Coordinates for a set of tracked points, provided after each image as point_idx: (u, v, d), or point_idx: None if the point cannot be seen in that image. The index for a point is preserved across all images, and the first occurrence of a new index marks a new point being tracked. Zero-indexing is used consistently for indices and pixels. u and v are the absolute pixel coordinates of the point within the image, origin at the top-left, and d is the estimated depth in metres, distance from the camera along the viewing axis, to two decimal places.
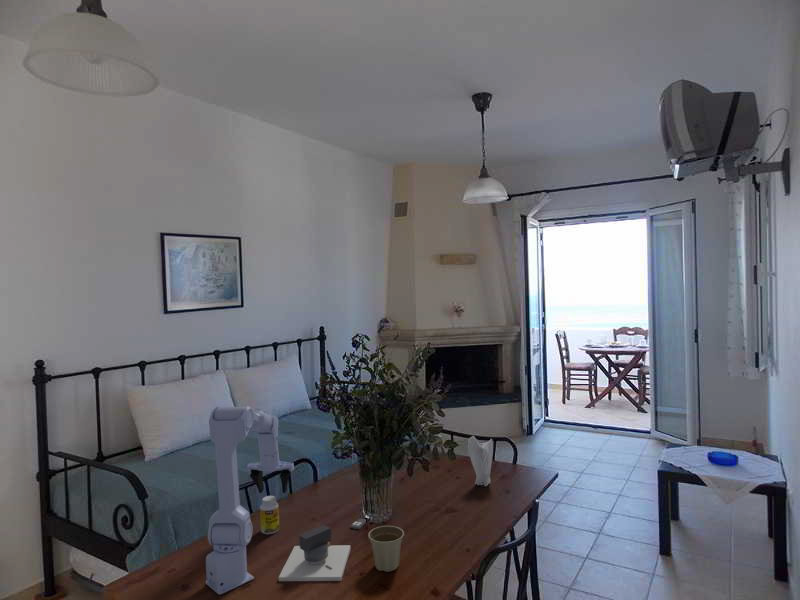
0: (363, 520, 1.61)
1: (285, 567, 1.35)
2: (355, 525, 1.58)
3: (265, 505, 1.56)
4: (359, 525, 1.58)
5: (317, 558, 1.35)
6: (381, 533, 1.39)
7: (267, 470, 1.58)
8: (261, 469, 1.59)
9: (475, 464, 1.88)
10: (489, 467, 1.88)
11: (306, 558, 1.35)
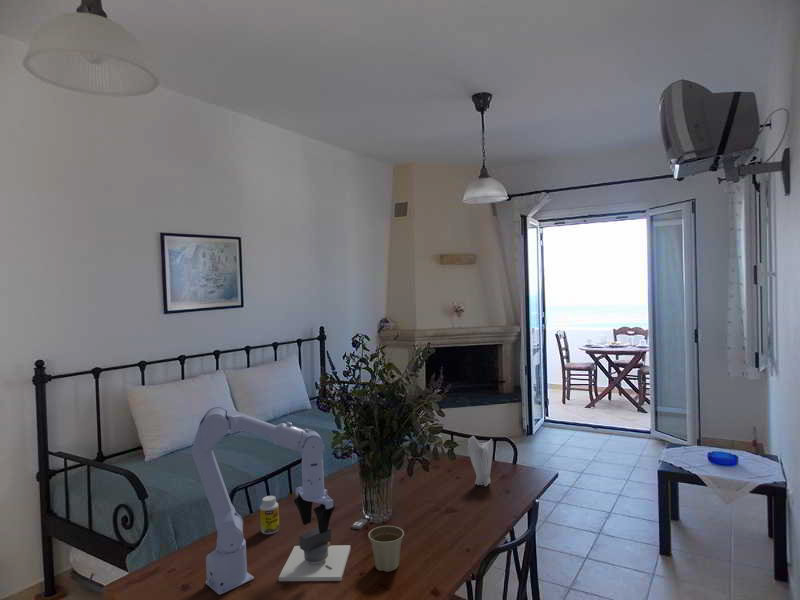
0: (364, 520, 1.61)
1: (285, 567, 1.35)
2: (356, 525, 1.58)
3: (265, 505, 1.56)
4: (360, 525, 1.58)
5: (317, 558, 1.35)
6: (381, 533, 1.39)
7: (304, 498, 1.35)
8: (301, 495, 1.37)
9: (475, 464, 1.88)
10: (489, 467, 1.88)
11: (306, 558, 1.35)
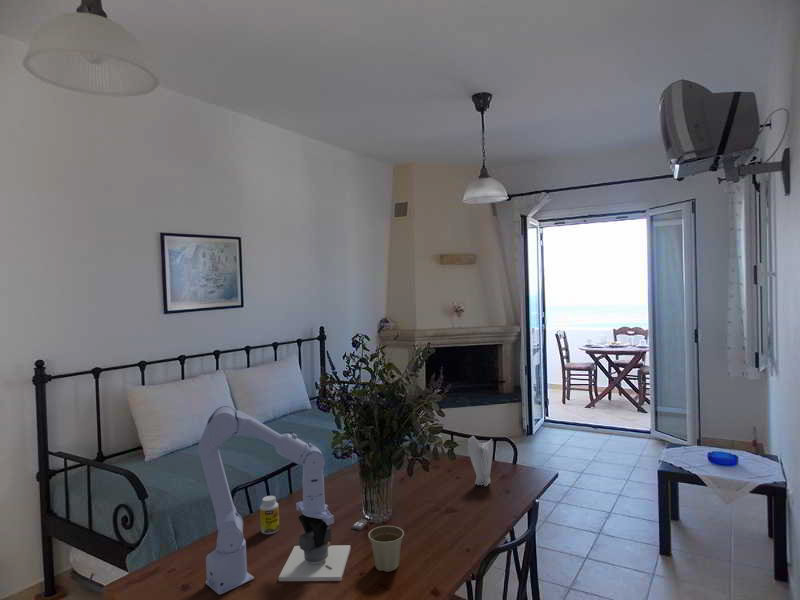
0: (364, 521, 1.61)
1: (285, 567, 1.35)
2: (357, 526, 1.57)
3: (265, 505, 1.56)
4: (361, 526, 1.57)
5: (317, 558, 1.35)
6: (381, 533, 1.39)
7: (305, 514, 1.35)
8: (302, 511, 1.37)
9: (475, 464, 1.88)
10: (489, 467, 1.88)
11: (306, 558, 1.35)
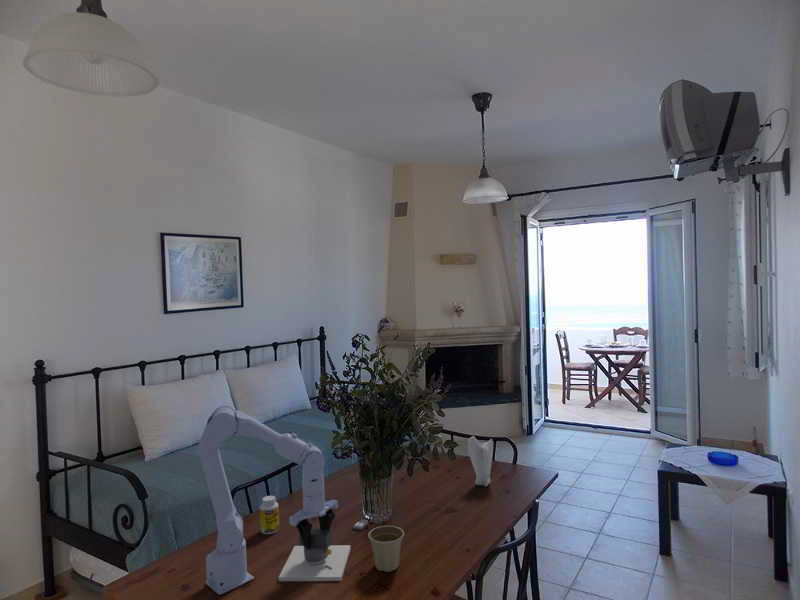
0: (365, 521, 1.61)
1: (285, 567, 1.35)
2: (357, 526, 1.57)
3: (265, 505, 1.56)
4: (361, 526, 1.57)
5: (306, 557, 1.35)
6: (381, 533, 1.39)
7: None
8: None
9: (475, 464, 1.88)
10: (489, 467, 1.88)
11: None
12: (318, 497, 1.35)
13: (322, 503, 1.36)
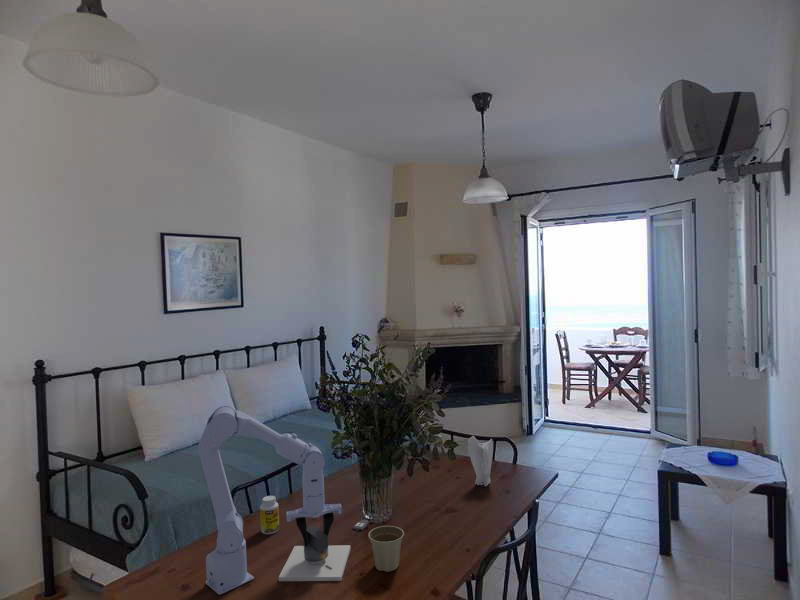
0: (365, 521, 1.61)
1: (285, 567, 1.35)
2: (358, 526, 1.57)
3: (265, 505, 1.56)
4: (362, 526, 1.57)
5: (304, 554, 1.37)
6: (381, 533, 1.39)
7: None
8: None
9: (475, 464, 1.88)
10: (489, 467, 1.88)
11: None
12: (312, 498, 1.34)
13: (318, 505, 1.35)
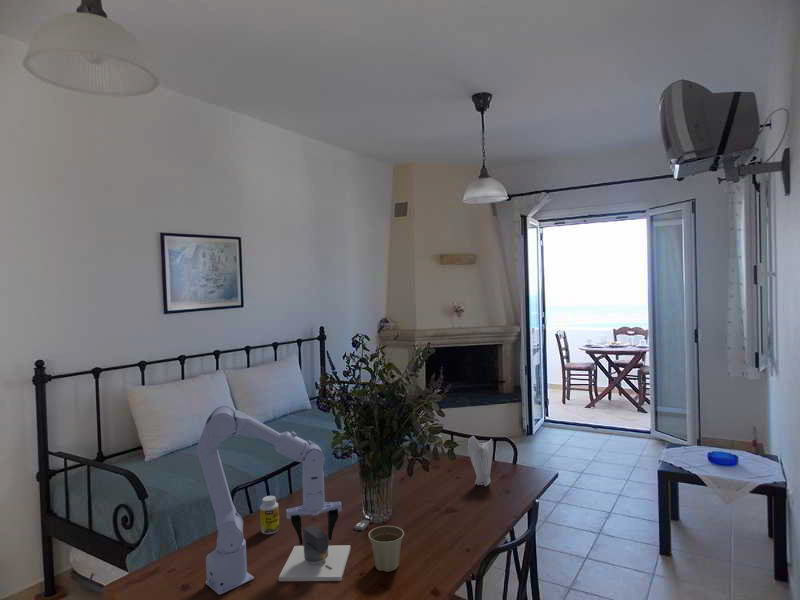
0: (366, 521, 1.60)
1: (285, 567, 1.35)
2: (359, 526, 1.57)
3: (265, 505, 1.56)
4: (363, 526, 1.57)
5: (304, 554, 1.37)
6: (381, 533, 1.39)
7: None
8: None
9: (475, 464, 1.88)
10: (489, 467, 1.88)
11: None
12: (312, 496, 1.34)
13: (317, 503, 1.35)
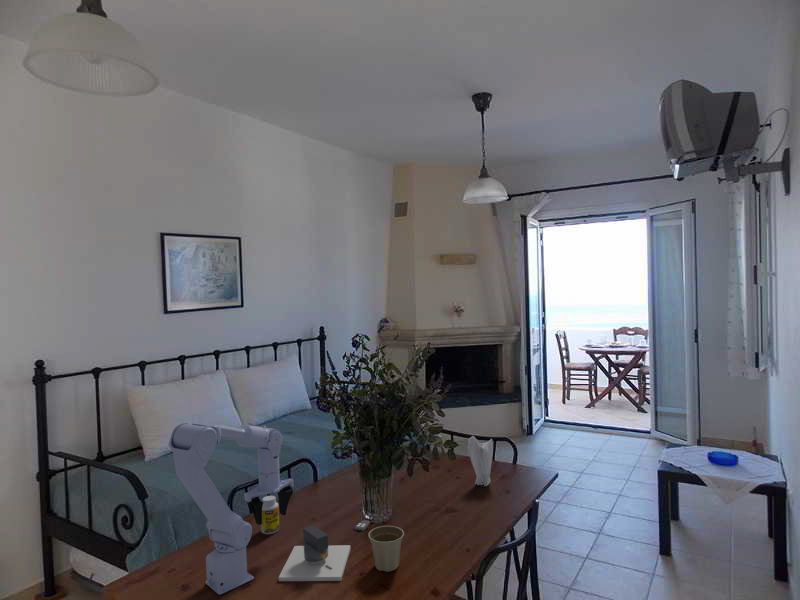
0: (366, 521, 1.60)
1: (285, 567, 1.35)
2: (359, 527, 1.57)
3: (265, 505, 1.56)
4: (364, 527, 1.57)
5: (304, 554, 1.37)
6: (381, 533, 1.39)
7: None
8: None
9: (475, 464, 1.88)
10: (489, 467, 1.88)
11: None
12: (272, 475, 1.41)
13: (277, 481, 1.42)
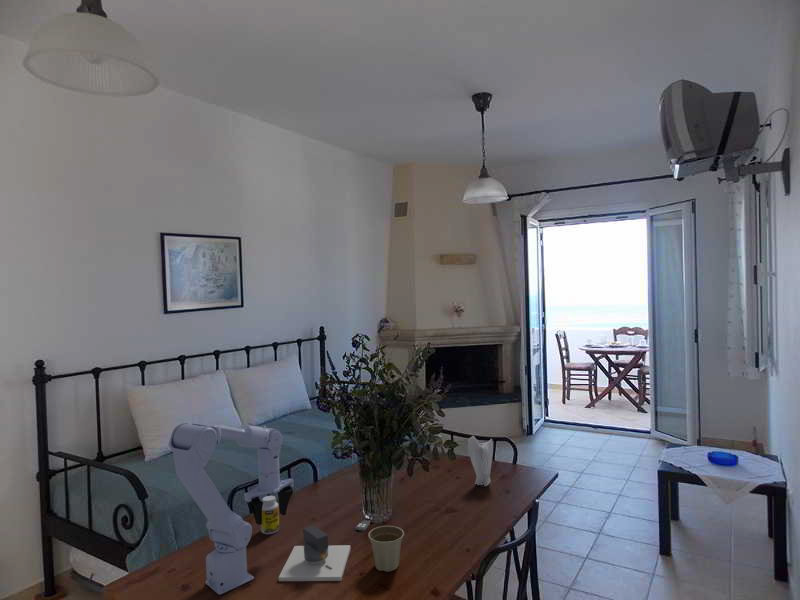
0: (367, 522, 1.60)
1: (285, 567, 1.35)
2: (360, 527, 1.56)
3: (265, 505, 1.56)
4: (364, 527, 1.57)
5: (304, 554, 1.37)
6: (381, 533, 1.39)
7: None
8: None
9: (475, 464, 1.88)
10: (489, 467, 1.88)
11: None
12: (272, 475, 1.41)
13: (277, 481, 1.42)
